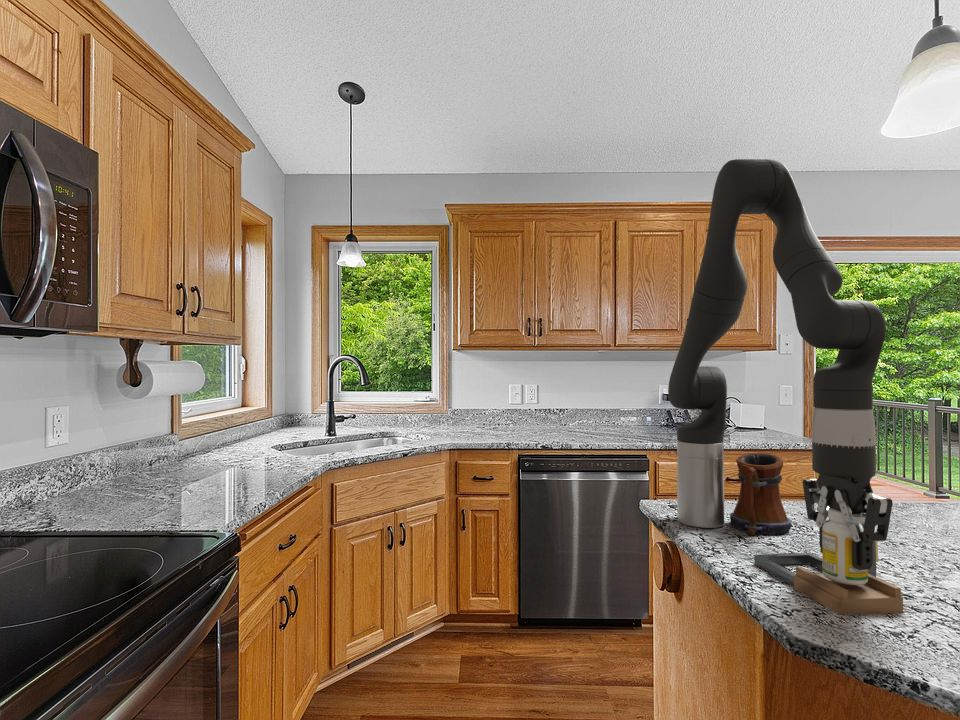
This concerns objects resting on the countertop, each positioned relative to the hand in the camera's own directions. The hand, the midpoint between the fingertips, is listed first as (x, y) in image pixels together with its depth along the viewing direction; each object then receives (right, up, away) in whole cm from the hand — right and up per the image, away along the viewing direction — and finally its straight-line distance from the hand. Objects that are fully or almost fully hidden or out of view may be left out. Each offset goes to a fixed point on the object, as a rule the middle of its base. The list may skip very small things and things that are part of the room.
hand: (844, 560), depth 77 cm
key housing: (+8, -6, +11) cm, 14 cm away
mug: (+4, -6, +33) cm, 34 cm away
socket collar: (0, -6, +10) cm, 11 cm away
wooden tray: (0, -5, 0) cm, 5 cm away
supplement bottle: (0, -3, 0) cm, 3 cm away
